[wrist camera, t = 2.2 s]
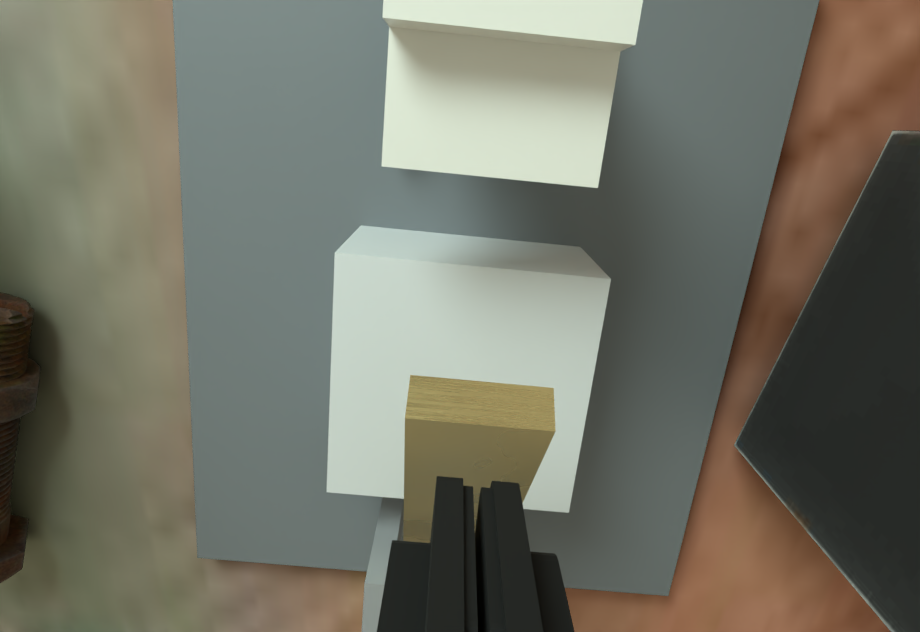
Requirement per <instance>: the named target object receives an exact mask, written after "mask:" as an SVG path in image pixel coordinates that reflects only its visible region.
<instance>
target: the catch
mask: <svg viewBox="0 0 920 632" xmlns="http://www.w3.org/2000/svg"><path fill="white" fill-rule="evenodd" d="M642 4H643V0H383V16H382V18H383V19H384V20H385V22H386V23H387V24H388V26H389V40H388V57H387V75H386V93H385V111H384V129H383V147H382V165H381V166H382V167H392V168H402V169H412V170H422V171H432V172H442V173H452V174H462V175H472V176H482V177H492V178H502V179H512V180H522V181H532V182H542V183H552V184H562V185H572V186H582V187H592V188H598V184H599V178H600V172H601V166H602V160H603V154H604V148H605V142H606V136H607V130H608V124H609V118H610V112H611V106H612V100H613V94H614V88H615V82H616V76H617V70H618V64H619V58H620V51H623V50H625V49H627V48H629V47H632V46H634V45H636V39H637V33H638V27H639V21H640V15H641V10H642Z"/></svg>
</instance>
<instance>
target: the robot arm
mask: <svg viewBox="0 0 920 632" xmlns="http://www.w3.org/2000/svg"><path fill="white" fill-rule="evenodd" d="M377 632H574V628H573V624H572V619H571V615H570V610H569V606H568V601H567V597H566V592H565V588H564V583H563V579H562V574H561V570H560V566H559V561H558V558H557V556H556V554H555V553H543V552H531V551H530V547H529V541H528V535H527V528H526V522H525V516H524V510H523V504H522V498H521V491H520V486H519V483H513V482H501V481H492V482H491V486H490V488H486V487H481V490H480V496H479V504H478V512H477V520H476V528H475V526H474V497H473V486H463V478H455V477H443V476H437V478H436V488H435V498H434V508H433V518H432V528H431V538H430V543H422V542H410V541H398V540H392V543H391V549H390V555H389V561H388V567H387V573H386V579H385V585H384V591H383V597H382V603H381V609H380V615H379V621H378V627H377Z"/></svg>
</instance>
